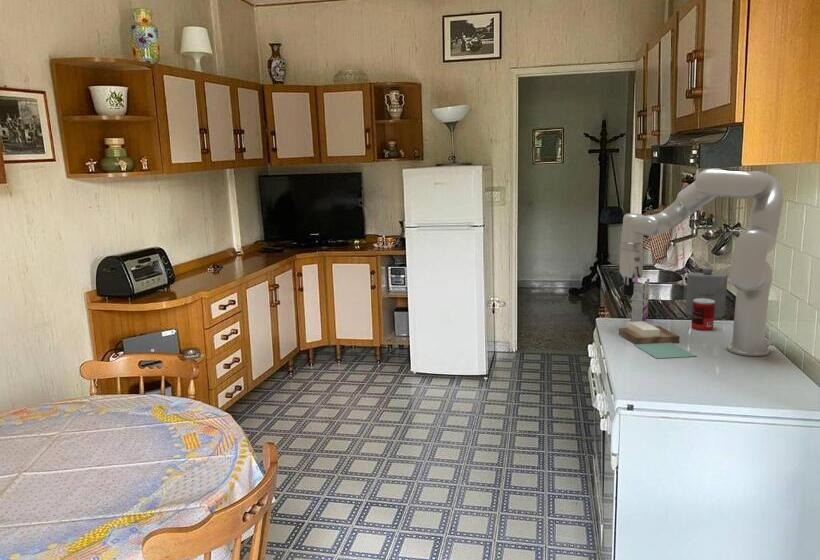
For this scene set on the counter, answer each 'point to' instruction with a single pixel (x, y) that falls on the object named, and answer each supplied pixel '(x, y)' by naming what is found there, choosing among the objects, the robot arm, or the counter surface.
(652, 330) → the tile
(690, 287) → the grey upright rectangular block
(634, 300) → the candy bar box
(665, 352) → the mat
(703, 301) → the canned food
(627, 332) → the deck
